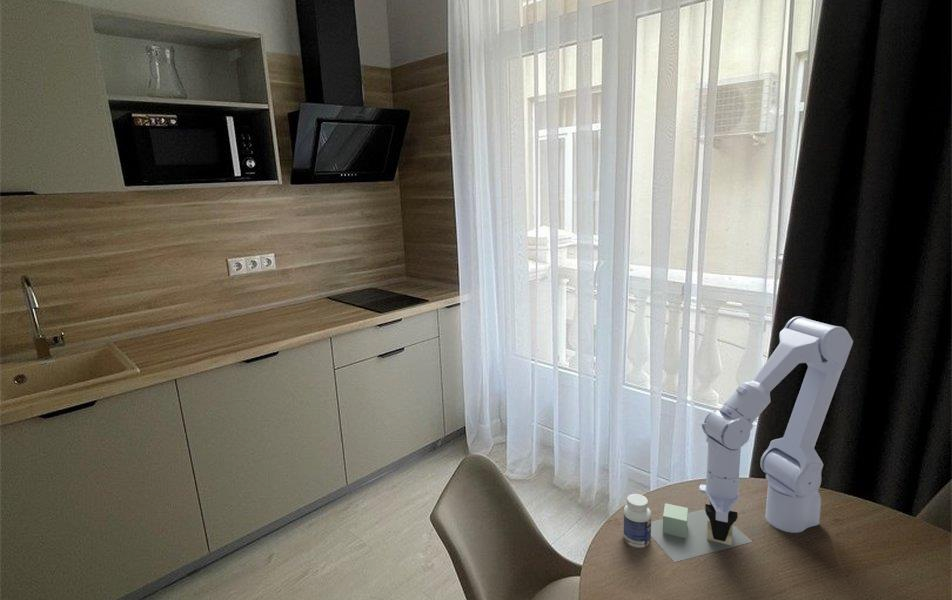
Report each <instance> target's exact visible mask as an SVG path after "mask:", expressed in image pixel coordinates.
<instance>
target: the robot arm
mask: <svg viewBox="0 0 952 600" xmlns="http://www.w3.org/2000/svg"><path fill="white" fill-rule="evenodd" d="M778 337H779V344H778V345H777V347H776V348H775V350H774V351H773V352H772V354H771V355H770V356H769V358H768V359H767V360H766V362H765V363H764V365H763V366H762V368H761V369H760V370H759V372H758V373H757V374H756V376H755V378H754V379H753V380H751V381H744V382H742V383H741V384H740V385H739V386H738V387H737V388H736V389H735V391H734V392H733V393H732V395H730V397H729V398H728V399H727V401H726V402H725V403H724V404H723V405H722V407H721V408H720V409H718V410H713V411H711V412H709V413H708V414H707V415H706V417H705V418H704V422H703V423H701V428H702V429H701V430H702V431H703V433H704V434H705V436H706V438H705V439H706V443H707V457H706V458H707V459H706V480H705V484H699V488H698V489H699V492H700V493H701V494H705V495H706V497H707V499H708V500H709V504H707V503H704V504H705V507H704V509H705V511H706V514H707V516H708V518H709V520H710V523H711V528H712V534H713V538H714V539H716V540H720V541H725V540H726V538H727V536H728V532H729V530H730V527H731V526H732V524H733V525H734V523H735V522H737V519H738V512H737V511H733V510H732V509H733V508H734V506H735V504H736V503H737V502H738V501H739V500H740V499H739V498H740V493H739V481H740V468H741V451H742V447H743V446H745V444H747V443H748V441H749V439H750V436H751V431H752V429H753V427H754V425H753V423H754V422H755V421H756V420H757V418H759V416H760V415H761V414H762V413H763V411H764V410H765V409H766V408H767V407H768V405H770V403H771V392H772V390H774V388H776V386H778V385H779V384H780V383H781V382H782V380H784V379H785V378H786V377H787V376H788V374H790V373H791V372H792V371H793V370H794V369H795V368H796V367H797V366H798V365H799V364H806V365H807V369H806V372H805V374H804V378H803V381H802V383H801V387H800V390H799V393H798V395H797V397H796V400H795V403H794V406H793V408H792V412H791V415H790V418H789V420H788V423H787V426H786V429H785V431H784V434H783V437H780V438H775V439H773V440H771V441H770V443H769V446H768V447H767V449H766V450H765V451H764V452H763V453H762V456H761V457H760V468H761V470H762V471H763V473H765V479H766V480H767V492H766V493H767V494H766V504H765V516H764V517H765V520H766V522H767V523H768V524H770V525H771V526H772V527H774V528H775V529H778V530H779V531H783V532H785V533H792V534H793V533H802V532H804V531H805V530H806V529H808V528H811V527H812V528H813V527H815V526H818V525H819V524H820V514H821V507H822V506H821V505H822V498H821V494H820V492H819V489H820V487H821V484H822V471H823V468H824V463H823V460H822V459H821V458H820V456H819V455H818V454H819V453H817V451H816V449H815V446H816V443H817V441H818V438H819V435H820V432H821V430H822V427H823V424H824V422H825V419H826V415H827V413H828V410H829V408H830V405H831V402H832V399H833V397H834V394H835V391H836V389H837V386H838V384H839V380H840V379H841V378H840V377H841V374H842V371H843V370H844V369H845V365H846V364H847V360H848V358H849V355H850V351H851V349H852V347H853V343H854V340H853V338H852V337H851V335H850V333H849V331H848V330H847V329H846V328H845V327H843V326H838V325H833V324H828V323H824V322H820V321H816V320H814V319H813V320H812V319H810V318H807V317H804V316H800V315H799V316H794V317H792V318H791V319H789V320H788V321H787V322H786V324H785V325H784V327H783V328H782V330H780V332H779V336H778Z"/></svg>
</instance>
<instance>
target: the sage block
mask: <svg viewBox="0 0 952 600" xmlns="http://www.w3.org/2000/svg"><path fill="white" fill-rule="evenodd" d="M688 513H689V508H688V507H685V506H680V505H675V504H671V503H664V509H663V515H662V519H663V533H665V534H670V535H674V536H678V537H682V538H686V534H687V519H688Z"/></svg>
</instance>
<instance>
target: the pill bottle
mask: <svg viewBox="0 0 952 600" xmlns="http://www.w3.org/2000/svg"><path fill="white" fill-rule="evenodd" d="M626 498H627V499H626V504H625V506H624V508H623V517H622V518H623V519H622V520H623V527H622V530H623V533H622V535H623V536H622V537H623V538H622V539H623V541H625V542H626V544H628V545H629V546H631V547H635V548H646V547H647V546H649V545H650V544H651V538H652V537H651V522H652V511H651V509H650V508H649V501H648V498H647V497H646V496H644V495H642V494H639V493H632V494H631V493H630V494H629V495H628V496H627V497H626Z"/></svg>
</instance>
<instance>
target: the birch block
mask: <svg viewBox="0 0 952 600" xmlns="http://www.w3.org/2000/svg"><path fill="white" fill-rule="evenodd" d="M733 525H734V523H733V524H732V526H731V527H730V530H729V532H728V536H727V538H726V540H725V541H720V540H716V539H714V538H713V534H712V528H711V523H710V520H709V518H708V520H707V540H710V541H714V542H719V543H723V544H727V545H732V529H733Z"/></svg>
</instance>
